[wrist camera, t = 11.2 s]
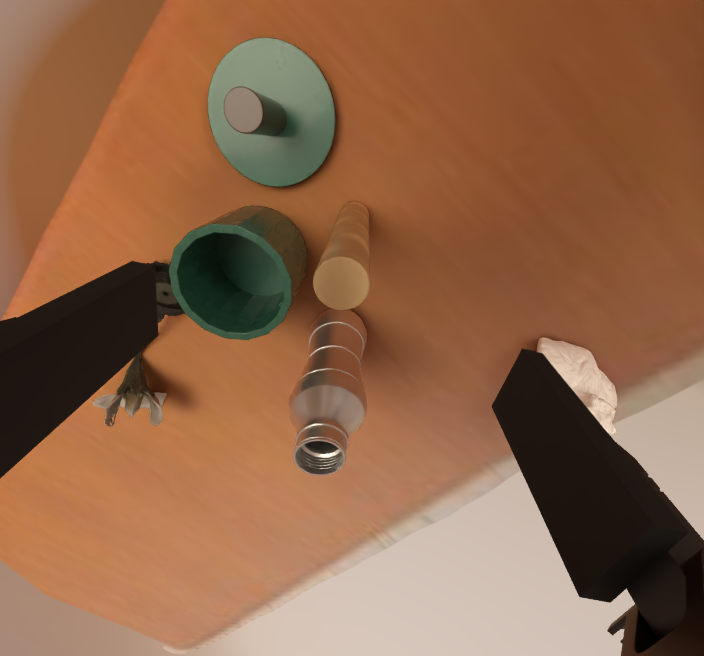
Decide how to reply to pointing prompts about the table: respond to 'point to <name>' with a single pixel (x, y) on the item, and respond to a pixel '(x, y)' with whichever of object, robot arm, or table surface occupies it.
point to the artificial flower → (135, 384)
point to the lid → (271, 112)
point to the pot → (239, 272)
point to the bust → (583, 378)
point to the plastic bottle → (329, 392)
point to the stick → (345, 260)
